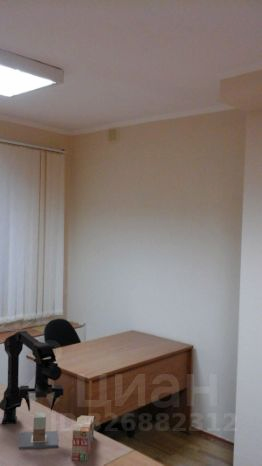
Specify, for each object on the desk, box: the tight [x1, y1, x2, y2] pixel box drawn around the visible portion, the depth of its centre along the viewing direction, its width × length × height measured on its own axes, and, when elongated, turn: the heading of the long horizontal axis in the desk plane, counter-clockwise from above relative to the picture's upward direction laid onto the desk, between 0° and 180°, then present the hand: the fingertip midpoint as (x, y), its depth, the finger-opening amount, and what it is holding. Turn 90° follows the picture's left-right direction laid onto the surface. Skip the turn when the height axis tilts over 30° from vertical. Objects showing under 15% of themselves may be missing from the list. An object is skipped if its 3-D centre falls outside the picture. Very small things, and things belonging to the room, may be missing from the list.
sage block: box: [32, 412, 47, 431], centre depth 185 cm, size 5×5×5 cm
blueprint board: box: [18, 430, 59, 450], centre depth 185 cm, size 13×16×1 cm
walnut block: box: [32, 426, 46, 441], centre depth 185 cm, size 5×5×5 cm
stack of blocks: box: [71, 415, 95, 462], centre depth 181 cm, size 21×6×12 cm, turn 178°
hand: (40, 410), depth 185 cm, fingers open, 9 cm apart
